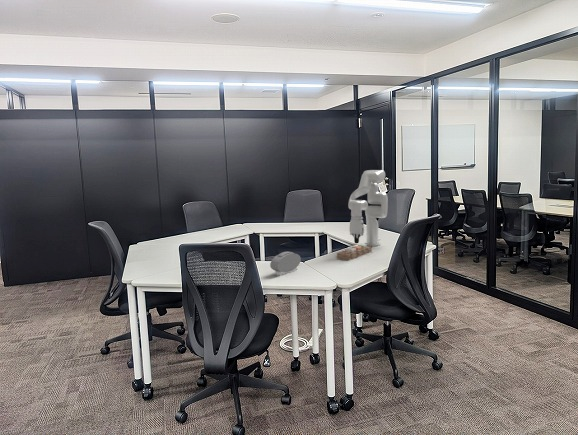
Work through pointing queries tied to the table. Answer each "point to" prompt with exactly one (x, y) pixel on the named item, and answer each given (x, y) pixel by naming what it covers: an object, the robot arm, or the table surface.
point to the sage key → (363, 245)
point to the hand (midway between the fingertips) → (356, 243)
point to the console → (353, 253)
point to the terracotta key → (357, 247)
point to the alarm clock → (285, 263)
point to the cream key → (351, 249)
